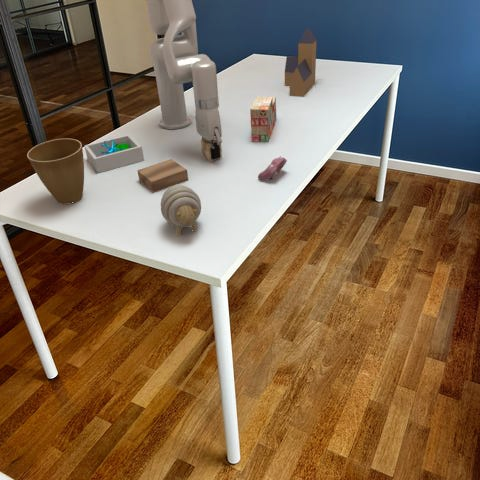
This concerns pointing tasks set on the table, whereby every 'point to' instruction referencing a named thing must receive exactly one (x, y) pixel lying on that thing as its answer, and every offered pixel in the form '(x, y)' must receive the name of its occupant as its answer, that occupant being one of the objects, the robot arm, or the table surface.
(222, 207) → the table surface
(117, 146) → the green blue spiky piece
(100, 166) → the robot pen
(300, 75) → the toy building blocks
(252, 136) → the stack of blocks
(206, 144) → the oak block
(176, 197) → the toy sheep
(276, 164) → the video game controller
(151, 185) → the base block
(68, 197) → the plant pot
